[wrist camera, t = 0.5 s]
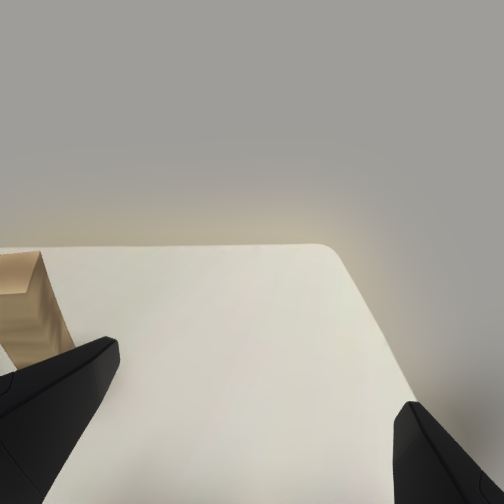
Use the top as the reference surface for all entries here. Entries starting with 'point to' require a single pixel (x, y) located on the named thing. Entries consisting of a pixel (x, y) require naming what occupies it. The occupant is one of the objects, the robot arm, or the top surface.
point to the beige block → (29, 311)
